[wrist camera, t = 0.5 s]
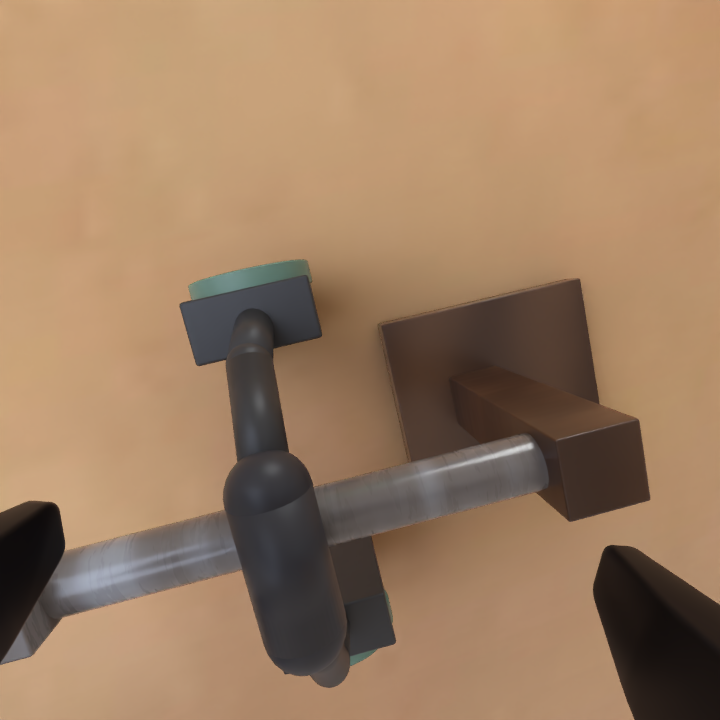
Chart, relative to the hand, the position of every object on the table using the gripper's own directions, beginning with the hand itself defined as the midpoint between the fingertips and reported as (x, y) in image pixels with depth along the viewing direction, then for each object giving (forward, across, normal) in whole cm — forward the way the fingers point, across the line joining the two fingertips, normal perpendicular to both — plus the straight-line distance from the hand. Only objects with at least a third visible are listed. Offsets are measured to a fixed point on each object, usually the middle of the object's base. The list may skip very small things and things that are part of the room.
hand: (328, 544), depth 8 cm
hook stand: (+13, -1, +4) cm, 14 cm away
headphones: (+11, +2, +5) cm, 12 cm away
